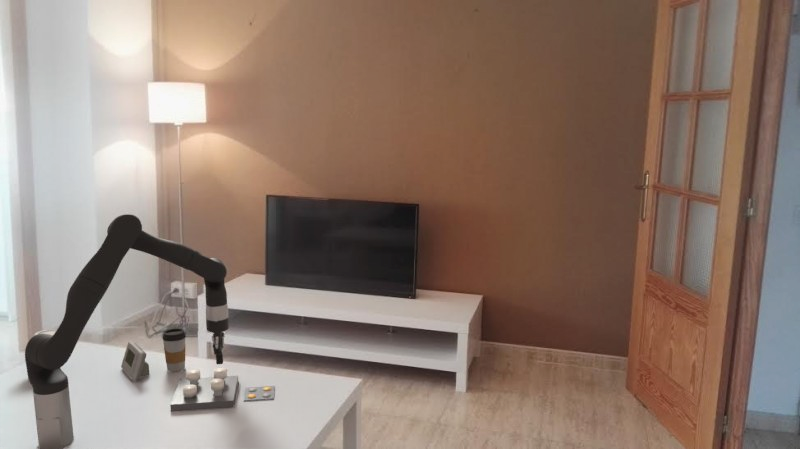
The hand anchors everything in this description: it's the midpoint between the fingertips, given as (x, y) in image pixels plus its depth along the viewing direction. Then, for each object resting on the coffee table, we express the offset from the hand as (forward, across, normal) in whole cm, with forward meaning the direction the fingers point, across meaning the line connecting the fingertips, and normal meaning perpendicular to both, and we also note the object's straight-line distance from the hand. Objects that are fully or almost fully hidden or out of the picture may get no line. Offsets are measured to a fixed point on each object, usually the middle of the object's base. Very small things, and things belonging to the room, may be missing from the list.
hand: (219, 363), depth 228 cm
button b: (+8, +9, 0) cm, 12 cm away
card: (+10, +6, +14) cm, 18 cm away
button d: (+8, 0, 0) cm, 8 cm away
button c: (+8, 0, -9) cm, 12 cm away
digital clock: (+10, -18, -33) cm, 39 cm away
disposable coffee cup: (+10, -27, -64) cm, 71 cm away
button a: (+9, +9, -9) cm, 16 cm away
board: (+10, +5, -4) cm, 12 cm away
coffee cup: (+10, -20, -18) cm, 29 cm away
